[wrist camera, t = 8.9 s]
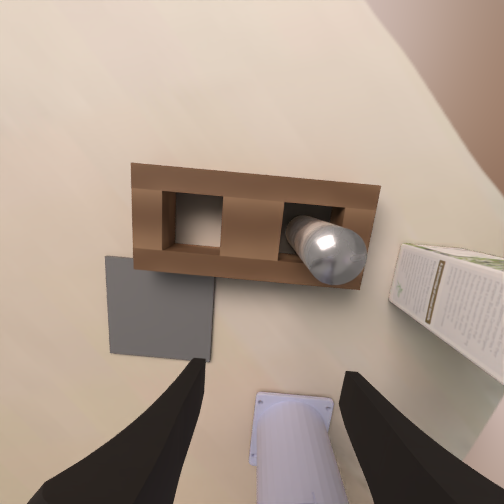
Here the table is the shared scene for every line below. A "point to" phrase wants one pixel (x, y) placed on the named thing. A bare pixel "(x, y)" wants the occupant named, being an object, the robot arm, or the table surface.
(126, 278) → the rubber mat
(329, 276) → the peg
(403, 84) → the table surface
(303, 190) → the walnut hole block
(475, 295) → the syrup box
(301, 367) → the table surface
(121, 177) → the table surface
